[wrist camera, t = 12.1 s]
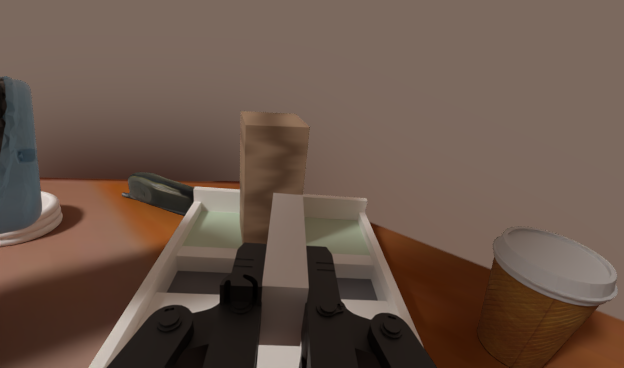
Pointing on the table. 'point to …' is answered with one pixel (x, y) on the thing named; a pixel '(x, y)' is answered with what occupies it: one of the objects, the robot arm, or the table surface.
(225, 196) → the board
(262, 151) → the walnut block
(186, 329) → the robot arm
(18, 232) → the coaster
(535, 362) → the disposable coffee cup
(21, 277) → the table surface
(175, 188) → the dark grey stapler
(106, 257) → the table surface
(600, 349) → the table surface
